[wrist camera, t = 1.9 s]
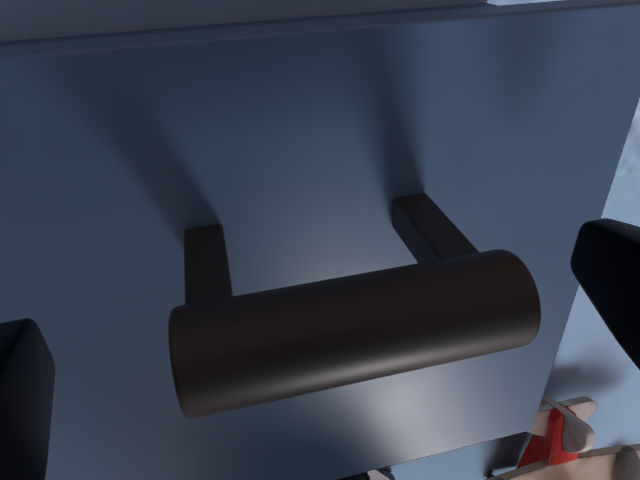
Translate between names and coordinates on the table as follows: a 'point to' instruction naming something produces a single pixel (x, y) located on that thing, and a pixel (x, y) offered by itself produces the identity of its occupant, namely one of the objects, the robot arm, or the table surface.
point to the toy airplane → (571, 447)
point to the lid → (306, 232)
